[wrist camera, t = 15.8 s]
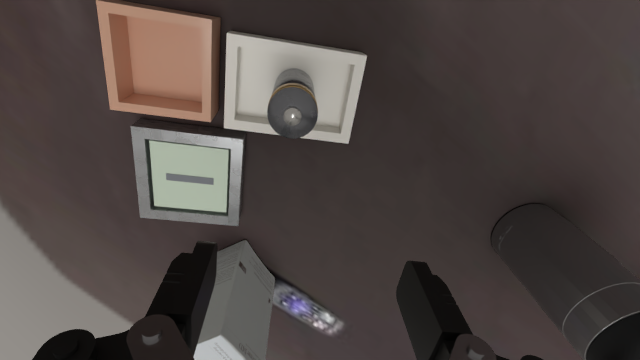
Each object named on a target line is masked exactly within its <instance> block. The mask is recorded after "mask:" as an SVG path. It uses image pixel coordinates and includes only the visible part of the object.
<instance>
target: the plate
mask: <svg viewBox="0 0 640 360" xmlns="http://www.w3.org/2000/svg"><path fill="white" fill-rule="evenodd" d="M149 145H150V157H151V170H152V183H153V195H154V206H160V207H171V208H182V209H193V210H204V211H215V212H227V209H228V204H229V180H230V155H231V149H227V148H218V147H210V146H201V145H193V144H184V143H176V142H167V141H159V140H149Z"/></svg>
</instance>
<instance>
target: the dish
mask: <svg viewBox="0 0 640 360" xmlns="http://www.w3.org/2000/svg"><path fill="white" fill-rule="evenodd" d="M96 4H97V12H98V19H99V27H100V35H101V42H102V50H103V58H104V66H105V73H106V81H107V89H108V96H109V104H110V109H111V110H118V111H126V112H134V113H142V114H150V115H158V116H166V117H174V118H181V119H189V120H197V121H205V122H211V121H212V119H213V118H214V117H215V115H216V114H217V112H218V111H219V76H220V31H221V17H215V16H209V15H203V14H197V13H192V12H186V11H180V10H174V9H168V8H162V7H156V6H150V5H144V4H138V3H132V2H127V1H121V0H96Z"/></svg>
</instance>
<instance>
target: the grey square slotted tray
mask: <svg viewBox="0 0 640 360" xmlns="http://www.w3.org/2000/svg"><path fill="white" fill-rule="evenodd" d="M131 133H132V143H133V153H134V162H135V172H136V182H137V191H138V201H139V211H140V218H152V219H164V220H175V221H187V222H198V223H210V224H221V225H233V226H238V225H239V221H240V217H241V208H242V192H243V176H244V160H245V144H246V131H238V130H230V129H222V128H214V127H206V126H198V125H190V124H182V123H174V122H166V121H158V120H150V119H142V118H141V119H139V120H138V121H137V122H135V123H134V124H133V125H132V126H131ZM149 140H159V141H167V142H176V143H184V144H193V145H201V146H210V147H218V148H227V149H231V163H230V187H229V205H228V209H227V212H215V211H204V210H193V209H182V208H171V207H160V206H154V195H153V183H152V170H151V157H150V145H149Z"/></svg>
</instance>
